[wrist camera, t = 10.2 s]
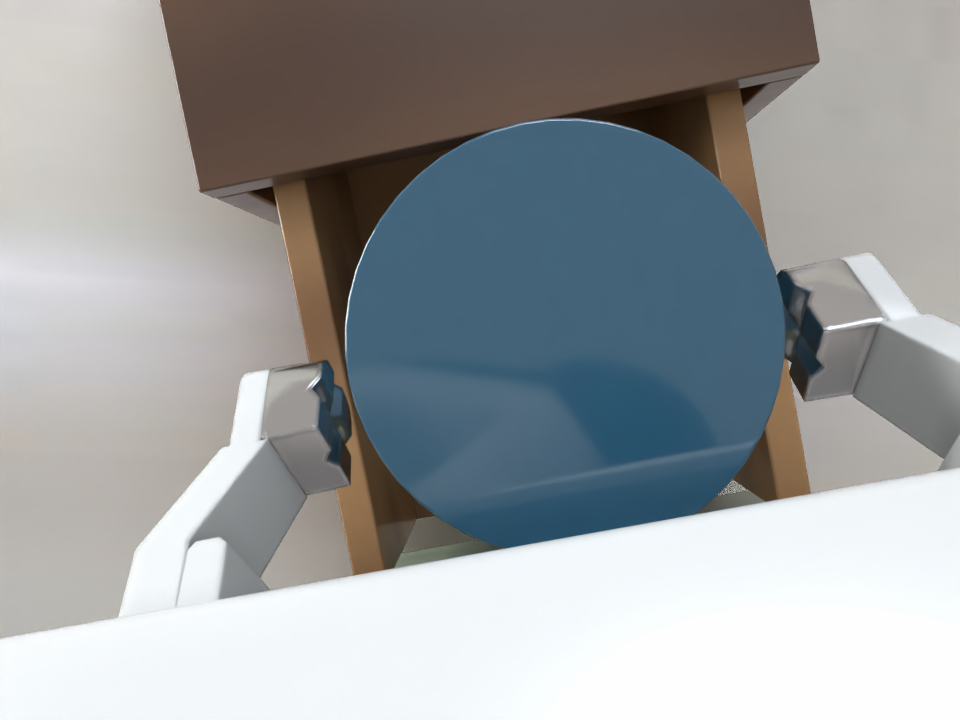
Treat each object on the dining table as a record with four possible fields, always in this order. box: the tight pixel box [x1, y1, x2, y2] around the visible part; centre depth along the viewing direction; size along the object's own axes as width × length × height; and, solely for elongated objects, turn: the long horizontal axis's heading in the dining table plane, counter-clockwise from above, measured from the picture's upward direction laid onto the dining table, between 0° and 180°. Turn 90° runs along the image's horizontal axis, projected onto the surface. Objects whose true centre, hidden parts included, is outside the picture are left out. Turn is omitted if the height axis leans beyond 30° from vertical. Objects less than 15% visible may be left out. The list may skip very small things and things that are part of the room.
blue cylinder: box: [345, 118, 785, 549], centre depth 16 cm, size 6×6×12 cm
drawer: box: [273, 89, 811, 575], centre depth 20 cm, size 19×12×7 cm, turn 11°
